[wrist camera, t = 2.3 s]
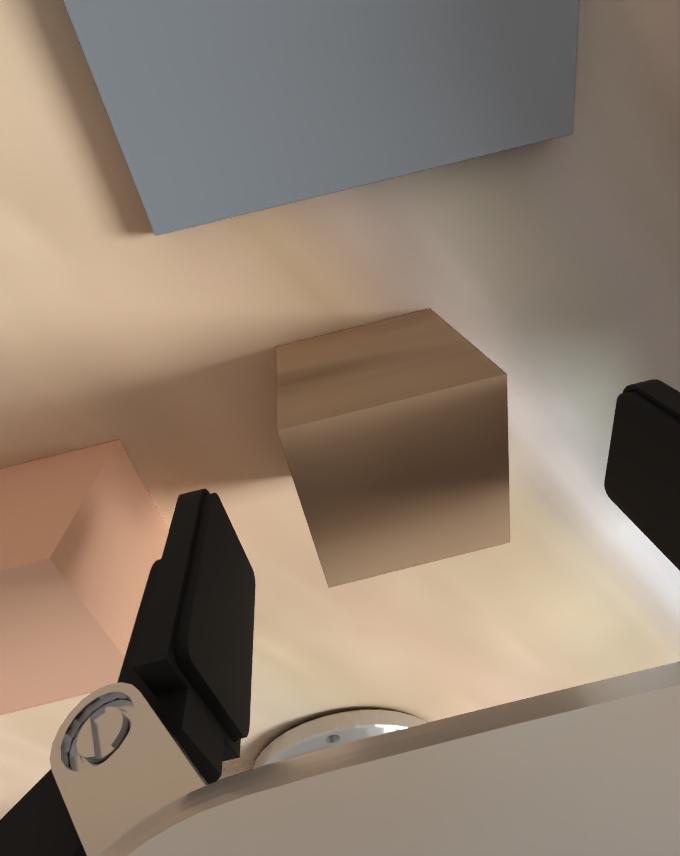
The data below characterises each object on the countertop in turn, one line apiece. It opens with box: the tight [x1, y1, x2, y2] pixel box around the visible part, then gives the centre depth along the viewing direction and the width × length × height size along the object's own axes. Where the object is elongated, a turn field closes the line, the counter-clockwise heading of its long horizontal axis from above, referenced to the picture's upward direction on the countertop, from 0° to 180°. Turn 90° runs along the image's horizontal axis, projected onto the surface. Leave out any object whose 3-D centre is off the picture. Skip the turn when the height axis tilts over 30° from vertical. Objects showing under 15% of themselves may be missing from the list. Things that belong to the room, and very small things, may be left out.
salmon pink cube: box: [0, 440, 169, 715], centre depth 15 cm, size 6×6×6 cm
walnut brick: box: [276, 309, 510, 588], centre depth 14 cm, size 6×6×6 cm
